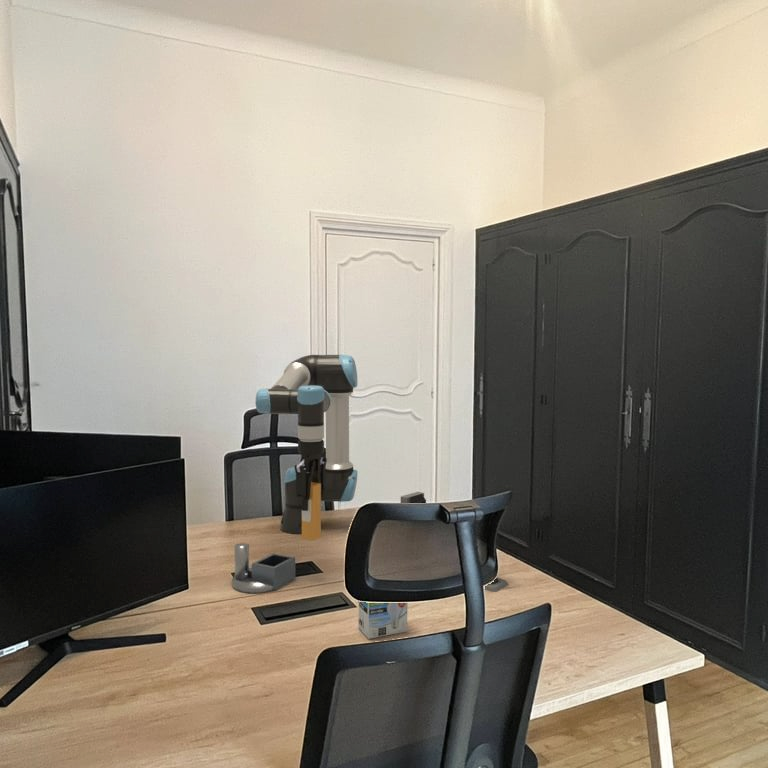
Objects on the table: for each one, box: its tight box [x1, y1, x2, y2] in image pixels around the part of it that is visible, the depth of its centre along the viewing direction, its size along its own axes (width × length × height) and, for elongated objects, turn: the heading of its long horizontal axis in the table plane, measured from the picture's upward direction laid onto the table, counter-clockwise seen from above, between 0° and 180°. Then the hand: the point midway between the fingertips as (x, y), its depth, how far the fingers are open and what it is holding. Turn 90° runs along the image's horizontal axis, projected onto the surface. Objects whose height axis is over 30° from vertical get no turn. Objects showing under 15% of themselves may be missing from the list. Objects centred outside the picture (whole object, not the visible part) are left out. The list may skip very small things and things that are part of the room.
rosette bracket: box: [231, 542, 296, 595], centre depth 183 cm, size 15×15×11 cm
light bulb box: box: [357, 601, 409, 640], centre depth 154 cm, size 11×7×11 cm, turn 115°
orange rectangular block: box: [301, 482, 322, 542], centre depth 184 cm, size 4×4×16 cm
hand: (311, 518), depth 185 cm, fingers closed on orange rectangular block, 4 cm apart
